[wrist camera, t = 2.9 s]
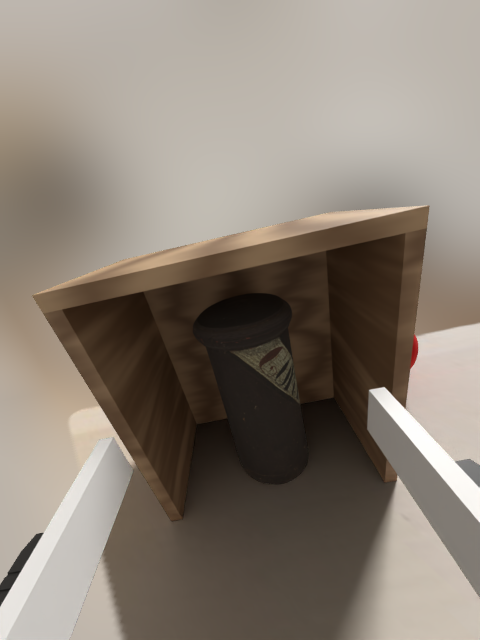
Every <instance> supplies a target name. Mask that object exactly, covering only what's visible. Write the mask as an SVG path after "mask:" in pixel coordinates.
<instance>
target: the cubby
mask: <svg viewBox="0 0 480 640" xmlns="http://www.w3.org/2000/svg"><path fill="white" fill-rule="evenodd" d="M428 214H429V206H415V207H414V206H413V207H398V208H384V209H369V210H354V211H339V212H329V213H325V214H321V215H316V216H312V217H307V218H303V219H299V220H294V221H290V222H285V223H281V224H277V225H272V226H269V227H264V228H260V229H255V230H251V231H246V232H242V233H238V234H233V235H229V236H224V237H220V238H216V239H211V240H207V241H203V242H199V243H194V244H190V245H185V246H181V247H177V248H172V249H168V250H163V251H159V252H155V253H151V254H146V255H142V256H138V257H133V258H128V259H125V260H122V261H119V262H116V263H114V264H111V265H109V266H106V267H104V268H101V269H99V270H96V271H93V272H91V273H88V274H86V275H83V276H81V277H78V278H76V279H73V280H70V281H68V282H66V283H63V284H60V285H57V286H55V287H52V288H50V289H48V290H45V291H42V292H40V293H37V294H35V295H32V296H33V298H34V299H35V301H36V303H37V304H38V306H39V308H40V309H41V311H42V312H43V314H44V316H45V317H46V319H47V321H48V322H49V324H50V325H51V327H52V328H53V330H54V332H55V333H56V335H57V337H58V338H59V340H60V342H61V343H62V345H63V346H64V348H65V350H66V351H67V353H68V354H69V356H70V357H71V359H72V361H73V363H74V364H75V366H76V368H77V369H78V371H79V372H80V374H81V376H82V377H83V379H84V380H85V382H86V384H87V385H88V387H89V389H90V390H91V392H92V393H93V395H94V396H95V398H96V400H97V401H98V403H99V405H100V406H101V408H102V410H103V411H104V413H105V414H106V416H107V418H108V419H109V421H110V423H111V424H112V426H113V427H114V429H115V431H116V432H117V434H118V436H119V437H120V439H121V440H122V442H123V444H124V445H125V447H126V448H127V450H128V452H129V453H130V455H131V457H132V458H133V460H134V461H135V463H136V465H137V466H138V468H139V470H140V471H141V473H142V474H143V476H144V478H145V479H146V481H147V482H148V484H149V486H150V487H151V489H152V491H153V492H154V494H155V495H156V497H157V499H158V500H159V502H160V504H161V505H162V507H163V508H164V510H165V512H166V513H167V515H168V516H169V518H170V520H171V521H175V520H180V519H183V512H184V506H185V499H186V492H187V486H188V479H189V473H190V466H191V459H192V453H193V446H194V439H195V433H196V426H197V424H201V423H206V422H211V421H216V420H221V419H226V418H227V415H226V411H225V408H224V405H223V402H222V398H221V395H220V392H219V389H218V385H217V382H216V378H215V375H214V372H213V368H212V365H211V362H210V359H209V356H208V353H207V349H206V346H204V345H203V344H202V343H200V342H199V341H198V340H197V339H196V338H195V336H194V334H193V324H194V322H195V320H196V319H197V318H198V316H199V315H200V314H201V313H202V312H203V311H204V310H205V309H207V308H208V307H210V306H211V305H213V304H215V303H217V302H219V301H222V300H224V299H227V298H230V297H234V296H238V295H243V294H250V293H267V294H273V295H276V296H279V297H280V298H282V299H283V300H285V301H286V302H287V303H288V304H289V305H290V307H291V310H292V318H291V321H290V324H289V327H288V331H289V337H290V344H291V350H292V357H293V364H294V369H295V375H296V381H297V387H298V393H299V399H300V404H303V403H308V402H313V401H318V400H323V399H328V398H333V397H334V398H335V400H336V402H337V403H338V405H339V407H340V408H341V410H342V412H343V413H344V415H345V417H346V419H347V420H348V422H349V424H350V425H351V427H352V429H353V430H354V432H355V434H356V435H357V437H358V439H359V440H360V442H361V444H362V445H363V447H364V449H365V450H366V452H367V454H368V456H369V457H370V459H371V461H372V462H373V464H374V466H375V467H376V469H377V471H378V472H379V474H380V476H381V477H382V479H383V481H384V482H385V483H386V482H392V481H397V473H396V472H395V470H394V469H393V467H392V466H391V464H390V463H389V461H388V460H387V458H386V457H385V455H384V454H383V452H382V451H381V449H380V448H379V446H378V445H377V443H376V442H375V440H374V439H373V437H372V436H371V434H370V433H369V431H368V430H367V423H368V400H369V390H371V389H377V388H382V387H385V388H386V389H387V390H388V391H389V392H390V393H391V395H392V396H393V397H394V398H395V399H396V400H397V401H398V402H399V403H400V404H401V405H402V406H403V407H404V408H405V407H406V399H407V390H408V382H409V373H410V365H411V357H412V348H413V340H414V331H415V323H416V315H417V306H418V298H419V289H420V281H421V273H422V264H423V256H424V247H425V239H426V231H427V222H428Z"/></svg>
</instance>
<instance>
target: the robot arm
mask: <svg viewBox="0 0 480 640" xmlns="http://www.w3.org/2000/svg"><path fill="white" fill-rule="evenodd" d="M367 430H368V431H369V433H370V434H371V436H372V437H373V439H374V440H375V442H376V443H377V445H378V446H379V448H380V449H381V451H382V452H383V454H384V455H385V457H386V458H387V460H388V461H389V463H390V464H391V466H392V467H393V469H394V470H395V472H396V473H397V475H398V476H399V478H400V479H401V481H402V482H403V484H404V485H405V487H406V488H407V490H408V491H409V493H410V494H411V496H412V497H413V499H414V500H415V502H416V503H417V505H418V506H419V508H420V509H421V511H422V512H423V514H424V515H425V517H426V518H427V520H428V521H429V523H430V524H431V526H432V527H433V529H434V530H435V532H436V533H437V535H438V536H439V538H440V539H441V541H442V542H443V544H444V545H445V547H446V548H447V550H448V551H449V552H450V554H451V555H452V557H453V558H454V560H455V561H456V563H457V564H458V566H459V567H460V569H461V570H462V572H463V573H464V575H465V576H466V578H467V579H468V581H469V582H470V584H471V585H472V587H473V588H474V590H475V591H476V593H477V594H478V596H479V597H480V465H478V464H477V463H475V462H474V461H472V460H471V459H467V460H461V461H454V460H453V459H452V458H451V457H450V456H449V455H448V454H447V453H446V452H445V451H444V450H443V449H442V448H441V447H440V445H439V444H438V443H437V442H436V441H435V440H434V439H433V438H432V437H431V436H430V435H429V434H428V433H427V432H426V431H425V430H424V428H423V427H422V426H421V425H420V424H419V423H418V422H417V421H416V420H415V419H414V418H413V417H412V416H411V415H410V414H409V413H408V411H407V410H406V409H405V408H404V407H403V406H402V405H401V404H400V403H399V402H398V401H397V400H396V399H395V398H394V397H393V396H392V395H391V393H390V392H389V391H388V390H387V389H386V388H385V387H382V388H377V389H371V390H369V400H368V423H367ZM132 474H133V469H132V467H131V466H130V464H129V462H128V461H127V459H126V457H125V456H124V454H123V452H122V451H121V449H120V447H119V446H118V444H117V442H116V441H115V439H114V437H110V438H105V439H100V440H99V441H98V442H97V444H96V446H95V447H94V449H93V451H92V452H91V454H90V456H89V457H88V459H87V461H86V463H85V464H84V466H83V468H82V469H81V471H80V473H79V474H78V476H77V478H76V479H75V481H74V483H73V485H72V486H71V488H70V490H69V491H68V493H67V495H66V496H65V498H64V500H63V501H62V504H61V505H60V507H59V508H58V510H57V512H56V513H55V515H54V517H53V518H52V520H51V522H50V523H49V525H48V527H47V529H46V530H45V532H44V533H39V534H36V535H35V536H34V538H33V539H32V540H31V541H30V542H29V543H28V544H27V546H26V547H25V548H24V549H23V550H22V551H21V553H20V555H19V556H18V557H17V559H16V561H15V562H14V564H13V566H12V567H11V569H10V570H9V572H8V575H7V577H5V578H4V580H3V581H2V583H1V585H0V640H70V638H71V635H72V632H73V630H74V627H75V625H76V622H77V619H78V617H79V614H80V611H81V609H82V606H83V603H84V601H85V598H86V595H87V593H88V590H89V587H90V585H91V582H92V580H93V577H94V574H95V572H96V569H97V566H98V564H99V561H100V559H101V556H102V553H103V551H104V548H105V545H106V543H107V540H108V537H109V535H110V532H111V529H112V527H113V524H114V522H115V519H116V516H117V514H118V511H119V508H120V506H121V503H122V500H123V498H124V495H125V492H126V490H127V487H128V485H129V482H130V479H131V477H132Z"/></svg>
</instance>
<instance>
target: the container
mask: <svg viewBox="0 0 480 640" xmlns="http://www.w3.org/2000/svg"><path fill="white" fill-rule="evenodd" d="M291 318H292V310H291V307H290V305H289V304H288V303H287V302H286V301H285V300H283V299H282V298H280V297H279V296H276V295H273V294H267V293H250V294H243V295H238V296H234V297H230V298H227V299H224V300H222V301H219V302H217V303H215V304H213V305H211V306H210V307H208V308H207V309H205V310H204V311H203V312H202V313H201V314H200V315H199V316H198V318H197V319H196V320H195V322H194V324H193V334H194V336H195V338H196V339H197V340H198V341H199V342H200V343H202V344H203V345H204V346H206V349H207V353H208V356H209V359H210V362H211V365H212V368H213V372H214V375H215V378H216V382H217V385H218V389H219V392H220V395H221V398H222V402H223V405H224V408H225V411H226V415H227V418H228V422H229V425H230V429H231V432H232V435H233V439H234V443H235V446H236V449H237V453H238V456H239V459H240V462H241V464H242V466H243V468H244V470H245V471H246V472H247V473H248V474H249V475H250V476H251V477H252V478H254V479H255V480H257V481H259V482H262V483H267V484H282V483H286V482H288V481H290V480H292V479H294V478H295V477H297V476H298V475H299V474H300V473H301V472H302V471H303V469H304V468H305V466H306V464H307V461H308V447H307V441H306V435H305V429H304V423H303V418H302V411H301V405H300V399H299V393H298V387H297V381H296V375H295V369H294V364H293V357H292V350H291V344H290V337H289V331H288V327H289V324H290V321H291Z"/></svg>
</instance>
